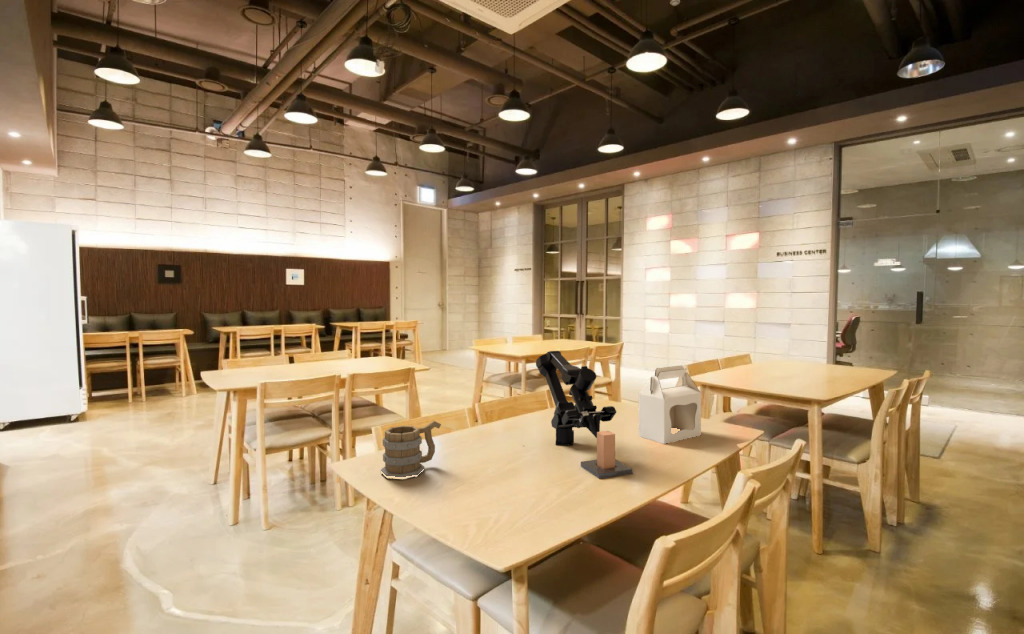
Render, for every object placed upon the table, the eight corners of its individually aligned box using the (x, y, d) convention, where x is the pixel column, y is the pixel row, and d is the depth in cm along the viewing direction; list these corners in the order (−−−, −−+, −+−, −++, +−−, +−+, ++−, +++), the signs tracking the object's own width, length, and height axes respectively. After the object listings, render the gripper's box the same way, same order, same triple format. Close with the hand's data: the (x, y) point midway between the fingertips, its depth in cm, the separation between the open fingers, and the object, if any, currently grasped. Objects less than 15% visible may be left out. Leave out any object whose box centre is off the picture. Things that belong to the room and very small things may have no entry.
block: (597, 468, 155) (596, 432, 155) (608, 467, 157) (608, 430, 156) (603, 472, 151) (603, 435, 151) (615, 471, 153) (615, 434, 152)
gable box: (664, 444, 181) (664, 371, 180) (637, 436, 192) (637, 367, 191) (701, 435, 192) (701, 366, 191) (674, 428, 204) (674, 363, 203)
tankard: (390, 483, 144) (389, 434, 144) (377, 471, 155) (376, 425, 154) (450, 470, 155) (449, 424, 155) (434, 459, 166) (433, 416, 165)
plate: (580, 466, 158) (580, 461, 158) (612, 461, 162) (612, 457, 162) (599, 478, 146) (599, 473, 146) (632, 473, 150) (632, 469, 150)
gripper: (597, 409, 177) (613, 446, 167) (551, 413, 171) (565, 452, 161) (608, 391, 170) (625, 429, 160) (560, 395, 163) (575, 435, 153)
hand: (598, 437), depth 158 cm, fingers closed
